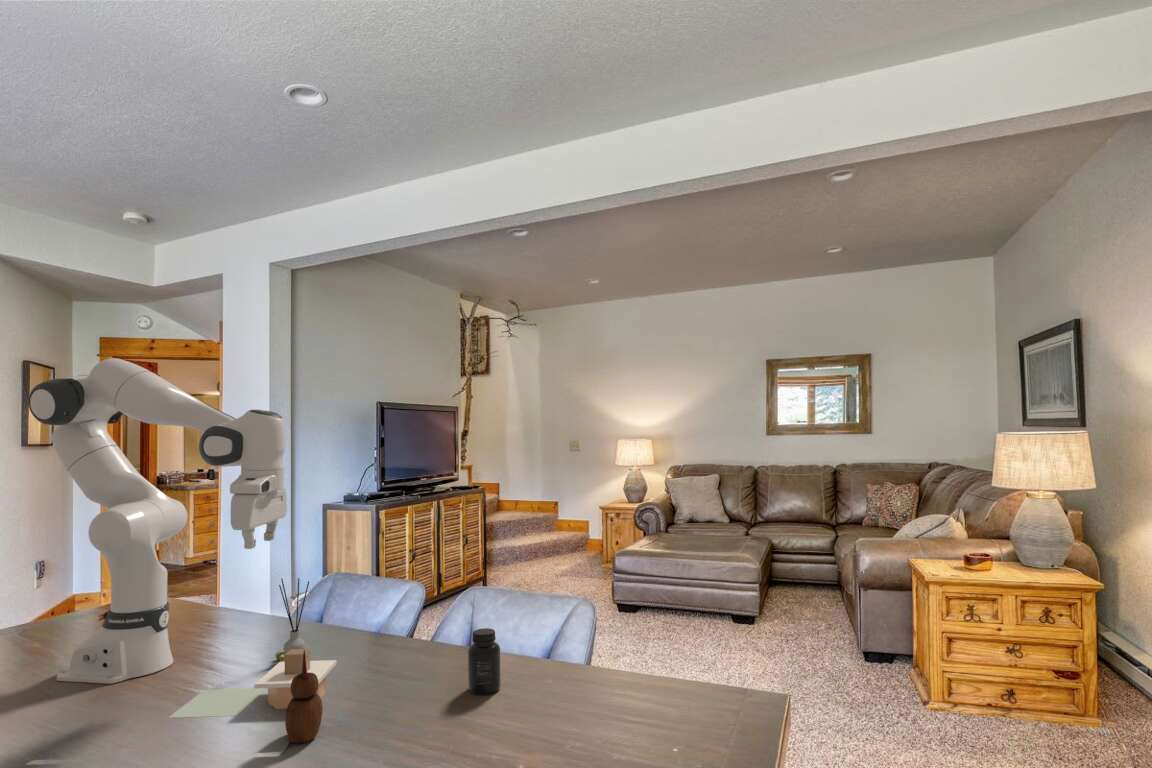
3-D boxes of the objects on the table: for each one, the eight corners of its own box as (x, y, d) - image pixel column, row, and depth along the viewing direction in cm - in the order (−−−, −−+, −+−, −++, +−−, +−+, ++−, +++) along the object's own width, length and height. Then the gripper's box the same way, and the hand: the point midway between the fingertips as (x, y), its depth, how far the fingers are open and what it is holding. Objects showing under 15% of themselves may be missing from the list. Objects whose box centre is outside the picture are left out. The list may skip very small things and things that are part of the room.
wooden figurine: (293, 730, 119) (295, 647, 120) (326, 728, 120) (326, 646, 121) (280, 748, 112) (281, 660, 113) (314, 747, 113) (315, 659, 114)
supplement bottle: (506, 685, 138) (506, 628, 139) (489, 698, 132) (489, 638, 133) (479, 680, 141) (479, 624, 142) (461, 692, 135) (461, 634, 136)
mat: (168, 720, 124) (168, 717, 124) (204, 692, 137) (204, 689, 137) (237, 718, 124) (237, 715, 124) (266, 690, 137) (266, 687, 137)
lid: (254, 688, 126) (254, 663, 127) (280, 665, 138) (280, 642, 139) (316, 686, 127) (316, 661, 127) (336, 663, 139) (336, 641, 139)
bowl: (261, 712, 127) (261, 686, 127) (282, 691, 137) (282, 667, 137) (312, 710, 127) (313, 684, 128) (330, 689, 137) (330, 665, 138)
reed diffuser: (316, 661, 154) (317, 576, 155) (294, 672, 148) (295, 583, 149) (283, 656, 158) (284, 573, 159) (260, 666, 151) (262, 580, 152)
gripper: (268, 477, 155) (265, 536, 154) (225, 486, 135) (222, 553, 134) (294, 478, 155) (292, 536, 155) (256, 486, 135) (253, 553, 134)
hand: (259, 544), depth 144 cm, fingers open, 8 cm apart
